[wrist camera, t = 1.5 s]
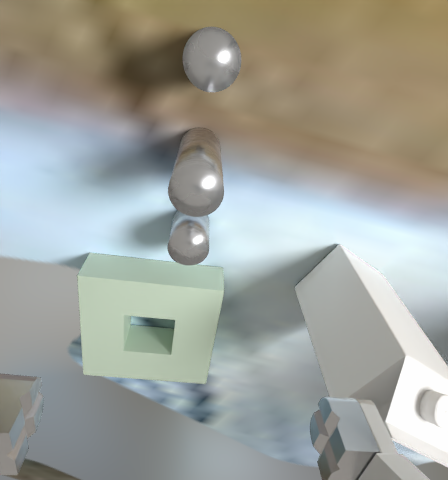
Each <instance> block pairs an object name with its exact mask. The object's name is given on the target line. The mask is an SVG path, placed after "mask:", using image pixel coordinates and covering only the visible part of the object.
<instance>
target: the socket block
mask: <svg viewBox="0 0 448 480" xmlns="http://www.w3.org/2000/svg"><path fill="white" fill-rule="evenodd" d="M77 281H78V295H79V296H78V297H79V313H80V328H81V344H82V360H83V374H84V375H95V376H108V377H121V378H134V379H147V380H160V381H173V382H186V383H199V384H206V381H207V375H208V370H209V365H210V360H211V355H212V350H213V345H214V340H215V335H216V330H217V325H218V320H219V315H220V310H221V305H222V300H223V295H224V276H223V268H222V267H213V266H204V265H182V264H179V263H177V262H169V261H160V260H151V259H142V258H133V257H124V256H115V255H106V254H97V253H89V255H88V257H87V259H86V260H85V262H84V264H83V266H82V268H81V269H80V271H79V273H78V275H77ZM131 316H138V317H149V318H159V319H170V320H175V328H174V329H172V328H161V327H150V326H139V325H131Z"/></svg>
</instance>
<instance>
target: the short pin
mask: <svg viewBox="0 0 448 480" xmlns="http://www.w3.org/2000/svg"><path fill="white" fill-rule="evenodd" d="M168 252H169V255H170V256H171V258H172V259H173V260H174V261H176V262H177V263H179V264H182V265H196V264H198V263H200V262H202V261H203V260H204V259H205V258H206V257H207V255H208V252H209V218H208V215H206V216H201V217H192V216H188V215H185V214H183V213H181V212H180V211H177V212H176V213H175V215H174V218H173V222H172V227H171V232H170V237H169V242H168Z"/></svg>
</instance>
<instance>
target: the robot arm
mask: <svg viewBox="0 0 448 480" xmlns="http://www.w3.org/2000/svg"><path fill="white" fill-rule="evenodd" d="M41 386H42V382H41V377H32V376H21V375H10V374H0V475H18V473H19V471H20V468H21V466H22V464H23V461H24V459H25V456H26V454H27V452H28V449H29V446H28V440H27V439H28V438H29V437H30V436H31V435H33V434H34V433H35V432H36V430H37V427H38V425H39V423H40V420H41V415H42V412H43V405H44V398H43V395H42V394H41V393H40V392H39V391H40V389H41ZM318 405H319V408H320V410H318V411H316V412H315V413H314V414H313V416H312V418H311V423H310V434H311V440H312V444H313V447H314V448H315V449H316V450H317V451H318V452H319V453H320V456H319V458H318V461H317V462H318V466H319V470H320V473H321V477H322V480H429V479H428V478H427V477H426V476H425V475H424V474H423V473H422V472H421V471H420V470H419V469H418V468H417V467H416V466H415V465H414V464H413V463H412V462H410V461H409V460H408V459H407V458H406V457H405V456H404V455H403V454H398V452H397V450H396V448H395V446H394V444H393V442H392V439H391V437H390V435H389V433H388V431H387V429H386V427H385V425H384V423H383V420H382V418H381V416H380V414H379V412H378V410H377V408H376V406H375V404H374V403H373V402H372V401H371V400H364V399H353V398H337V397H323V398H321V400H320V402H319V403H318Z"/></svg>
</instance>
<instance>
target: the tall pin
mask: <svg viewBox="0 0 448 480" xmlns="http://www.w3.org/2000/svg"><path fill="white" fill-rule="evenodd" d="M168 194H169V198H170V201H171V203H172V204H173V206H174V207H175V208H176V209H177V210H178V211H180V212H181V213H183V214H185V215H188V216H192V217H201V216H206V215H208V214H210V213H212V212H214V211H215V210H216V209H217V208H218V207H219V205H220V204H221V202H222V200H223V196H224V186H223V173H222V160H221V148H220V142H219V140H218V138H217V136H216V135H215V134H214V133H213V132H212V131H210V130H208V129H206V128H194V129H191V130H189V131H188V132H187V133H186V134H185V135H184V136H183V138H182V140H181V143H180V146H179V150H178V154H177V157H176V161H175V164H174V168H173V172H172V175H171V179H170V182H169V187H168Z"/></svg>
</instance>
